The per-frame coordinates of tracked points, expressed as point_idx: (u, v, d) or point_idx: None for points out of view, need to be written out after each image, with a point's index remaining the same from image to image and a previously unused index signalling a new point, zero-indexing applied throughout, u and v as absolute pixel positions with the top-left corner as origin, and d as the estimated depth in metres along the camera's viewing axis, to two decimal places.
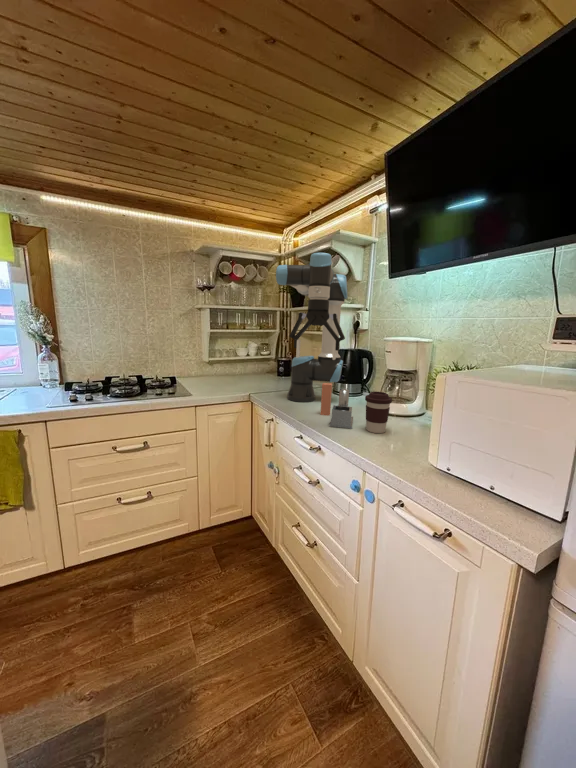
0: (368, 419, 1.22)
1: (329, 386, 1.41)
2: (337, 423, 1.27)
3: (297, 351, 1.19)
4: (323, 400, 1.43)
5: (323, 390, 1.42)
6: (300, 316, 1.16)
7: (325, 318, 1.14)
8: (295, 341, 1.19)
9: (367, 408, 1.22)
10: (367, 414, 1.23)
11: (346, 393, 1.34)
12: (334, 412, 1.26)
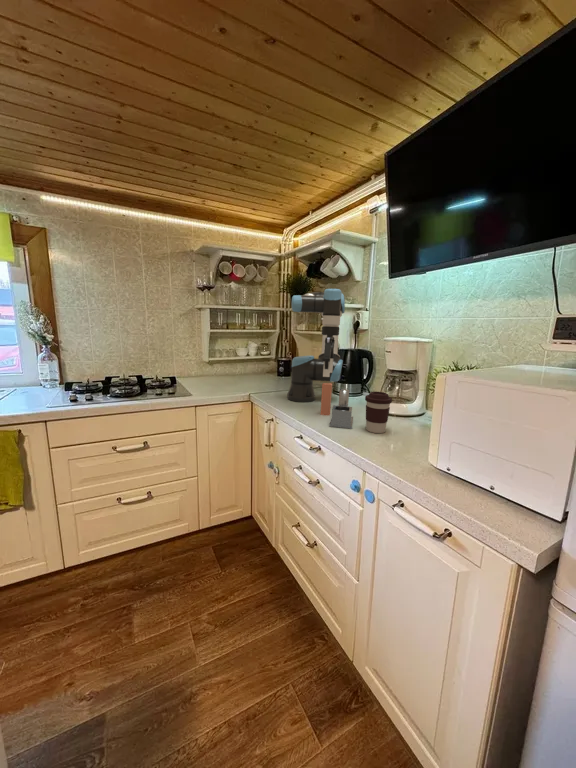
0: (368, 419, 1.22)
1: (329, 386, 1.41)
2: (337, 423, 1.27)
3: None
4: (323, 400, 1.43)
5: (323, 390, 1.42)
6: None
7: None
8: None
9: (367, 408, 1.22)
10: (367, 414, 1.23)
11: (346, 393, 1.34)
12: (334, 412, 1.26)
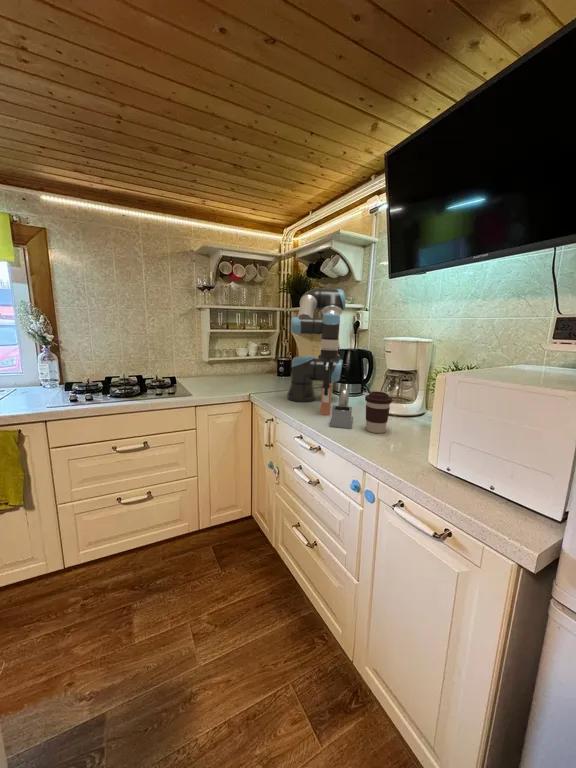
0: (368, 419, 1.22)
1: (329, 386, 1.41)
2: (337, 423, 1.27)
3: None
4: None
5: None
6: None
7: (325, 364, 1.39)
8: None
9: (367, 408, 1.22)
10: (367, 414, 1.23)
11: (346, 393, 1.34)
12: (334, 412, 1.26)
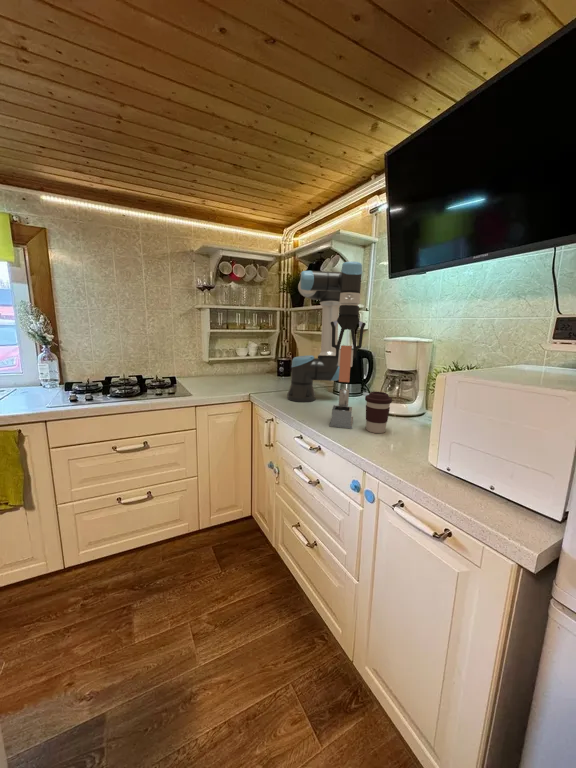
0: (368, 419, 1.22)
1: None
2: (337, 423, 1.27)
3: (339, 360, 1.25)
4: None
5: None
6: (333, 325, 1.23)
7: (354, 322, 1.21)
8: (337, 350, 1.25)
9: (367, 408, 1.22)
10: (367, 414, 1.23)
11: (346, 393, 1.34)
12: (334, 412, 1.26)
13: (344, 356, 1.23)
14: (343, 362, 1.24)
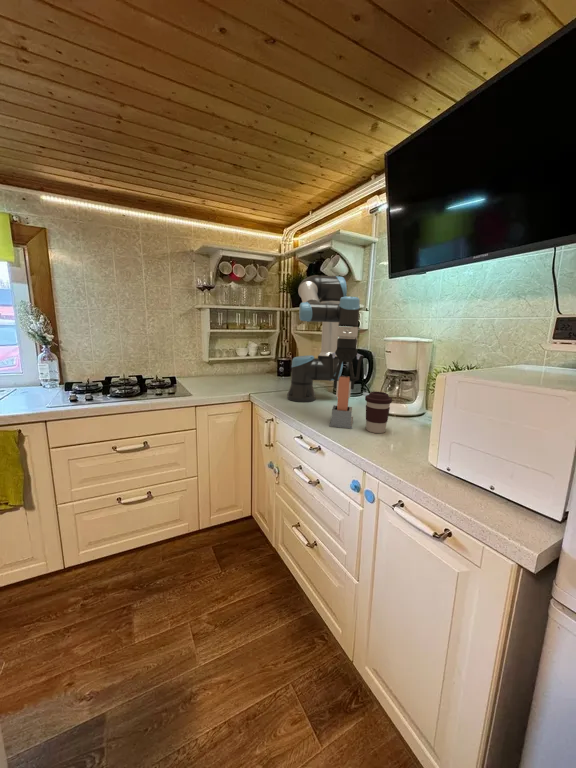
0: (368, 419, 1.22)
1: (349, 378, 1.28)
2: (337, 423, 1.27)
3: (337, 391, 1.27)
4: None
5: None
6: (331, 357, 1.25)
7: (352, 355, 1.23)
8: (335, 382, 1.27)
9: (367, 408, 1.22)
10: (367, 414, 1.23)
11: None
12: (334, 412, 1.26)
13: (342, 387, 1.26)
14: (341, 393, 1.26)
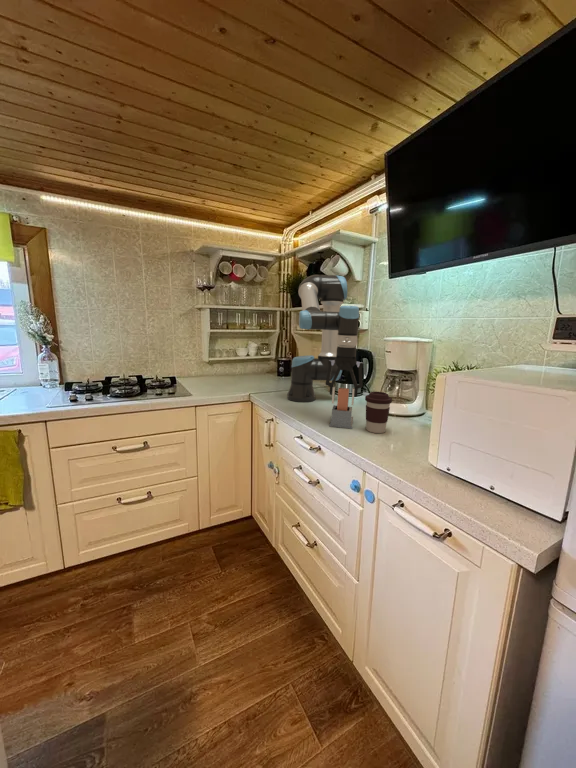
0: (368, 419, 1.22)
1: (348, 390, 1.29)
2: (337, 423, 1.27)
3: (333, 398, 1.28)
4: (347, 408, 1.28)
5: None
6: (330, 364, 1.26)
7: (352, 364, 1.24)
8: (331, 388, 1.28)
9: (367, 408, 1.22)
10: (367, 414, 1.23)
11: None
12: (334, 412, 1.26)
13: (341, 399, 1.27)
14: (340, 405, 1.27)
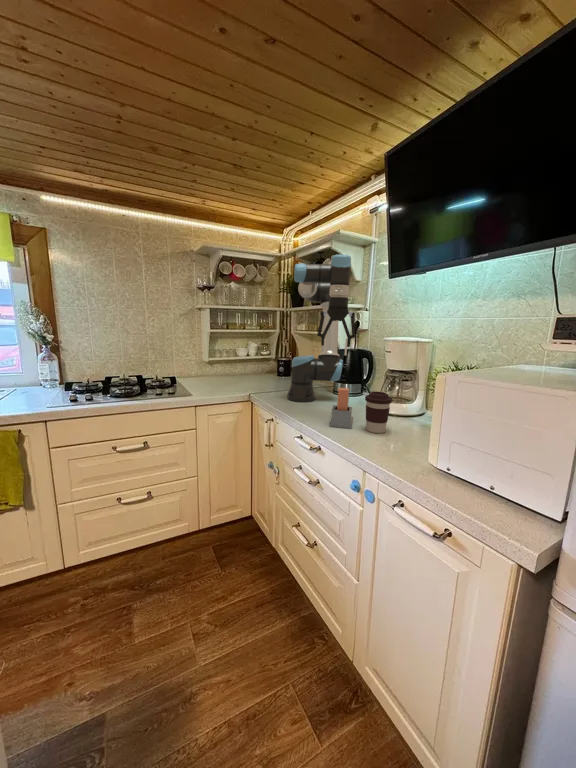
0: (368, 419, 1.22)
1: (348, 390, 1.29)
2: (337, 423, 1.27)
3: (324, 348, 1.30)
4: (347, 408, 1.28)
5: None
6: (322, 314, 1.27)
7: (344, 314, 1.26)
8: (322, 339, 1.30)
9: (367, 408, 1.22)
10: (367, 414, 1.23)
11: None
12: (334, 412, 1.26)
13: (341, 399, 1.27)
14: (340, 405, 1.27)
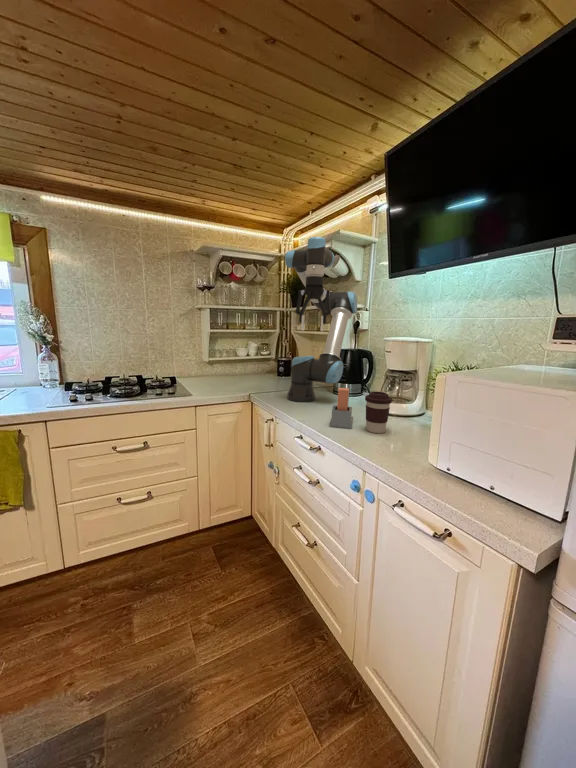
0: (368, 419, 1.22)
1: (348, 390, 1.29)
2: (337, 423, 1.27)
3: (302, 325, 1.40)
4: (347, 408, 1.28)
5: None
6: (299, 293, 1.37)
7: (320, 292, 1.36)
8: (300, 316, 1.40)
9: (367, 408, 1.22)
10: (367, 414, 1.23)
11: None
12: (334, 412, 1.26)
13: (341, 399, 1.27)
14: (340, 405, 1.27)
